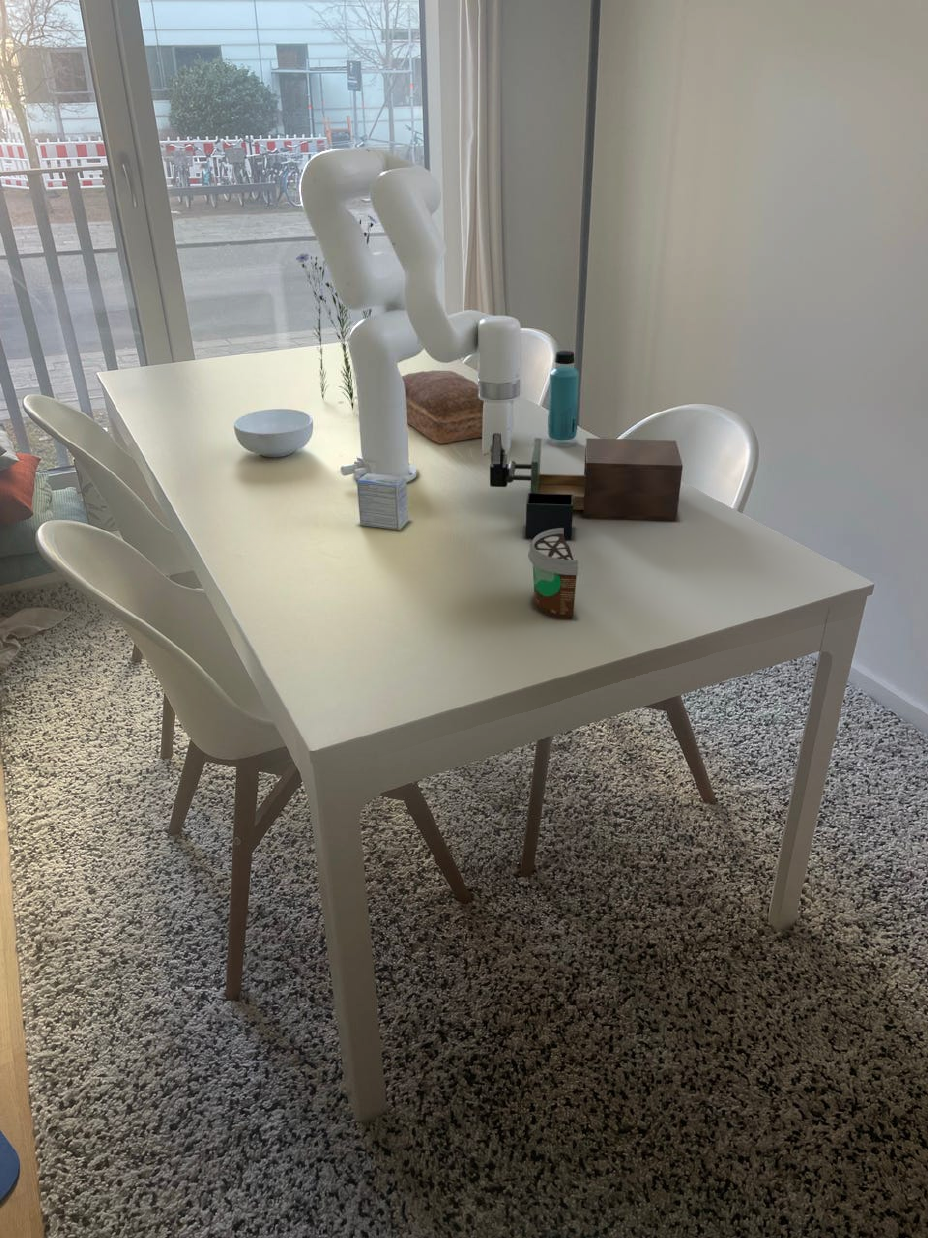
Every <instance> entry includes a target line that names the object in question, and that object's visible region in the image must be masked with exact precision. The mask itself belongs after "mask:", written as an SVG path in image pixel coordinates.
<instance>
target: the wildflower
mask: <svg viewBox="0 0 928 1238" xmlns="http://www.w3.org/2000/svg"><path fill="white" fill-rule="evenodd" d="M367 217H368V218H369V219H370V221H371V222H370V223H369V225H368V228H369V229H367V232H364V236H365V237H366V242H367V244H368V245H369V242H370V231H371V228H373V227H374V223H375V224H378V223H377V221H376V219H375V218H374V217H373V216H371V215H370V214H367ZM358 222H359V224H360V226H362V219H359V221H358ZM309 259H311V260H313V256H310V254H308V253H301V254H299V255H298V256H297V257H296V258H295V260H296V261H298V263H301V267H302V268H303V270H304V272H305V274H306V275H307V277H308V279H307V281H308V282H309V284H310V285H311V286H312V289H313V290H312V292H313V296H314V298H315V299H316V301H317V302H318V308H317V306H316V307H315V308H316V311H317V312H318V316H319V317H318V318H317V327H318V329H317V328H316V327H314V326H313V328H314V329H315V331H316V333H317V334H316V333H315V332H312V334H314V335H315V336H316V338H317V339H318V341H319V346H320V347H322V335H321V313H322V310H321V309H322V306H321V305H320V302H322V304H323V306H324V307H326V308H325V309H326V311H327V314H328V316H327V318H328V319H329V320H330V322H331V324H332V325H334V329H335V332H334V333H335V334H336V336H337V338H338V339H339V340H340V345H341V349H342V350H343V357H344V360H343V361H344V365H345V367H344V366H342V368H343V371H344V373H343V371H342V370H340V373H341V374H342V377H343V379H344V380H342V382H343V383H344V386H341V385H339V386H338V387H339V388H342V389H343V390H344V391H345V392H346V393H347V394H348V395H347V394H346V393H345V392H344V391H342V394H343V395H345V397H346V398H347V400H348V402H349V404H350V406H351V410H352V411H353V410H354V402H353V401H355V400H354V399H355V398H353V397H354V387H353V384H352V383H354V385H356V380H355V373H354V368H353V366H352V368H351V365H350V363H349V362H350V361H349V356H350V355H348V353H349V351H347V350H348V349H349V347H348V341H349V337H348V338H347V341H346V336H347V335H348V332H349V331H350V330H351V327H349V326H350V325H351V324H352V323H353V322H354V320H352V321H351V315H348V314H350V311H349V310H348V309H347V308H345V307H344V306H343V304H342V303H341V301H340V300H336V298H337V299H339V297H338V295H337V293H336V292H334V289H333V286H332V285H330V283H329V282H328V281H327V282H325V286H326V287H327V288H328V289H329V290H331V292H330V293H331V297H332V301H333V304H334V306H335V309H336V311H337V313H336V314H337V315H336V316H337V321H338V322H339V325H340V327H339V331H340V333H339V332H338V330H337V328H336V326H335V324H334V321H333V319H332V316H331V314H332V312H331V309H329V308H328V304H326V303H327V300H326V297H324V296H323V292H322V291H323V287H324V284H323V282H321V281H320V277H318V276H317V277H316V276H314V275H315V271H316V272H317V275H319V273H321V280H323V279H324V275H325V267H326V266H327V265H326V263H325V261H323V264H322V265H323V266H318V261H317V260H318V256H316V257H315V262H314V263H313V261H311V262H310V263H311V264H312V265H311V267H312V269H314V270H312V273H313V274H310V273H311V272H310V271H311V270H307V266H306V264H305V262H307V261H308V260H309ZM317 266H318V267H317ZM318 272H319V273H318ZM311 275H312V278H313V280H314V282H315V283H314V286H313V283H312V281H311V278H310V277H311ZM320 282H321V284H320ZM317 283H318V286H319V290H318V293H317V291H316V289H314V287H317ZM334 295H335V296H334ZM335 297H336V298H335ZM337 304H338V305H337ZM372 312H373V309H368V310H364V311H362V312H361V314H362V317H363V319H366V318H368V317H371V316H372V315H371V314H372ZM348 320H349V321H348ZM347 321H348V324H347ZM348 327H349V328H348ZM340 334H341V336H340ZM316 349H317V351H318V352H319V353H320V357H319V358H318V359H319V361H320V362H319V363H320V365H319V366H320V370H319V375H318V376H319V379H320V380H321V381H320V382H319V384H320V393H321V398H322V401H324V397H325V393H326V390H327V388H328V387H329V385H327V386H326V384H327V381H325V378H326V375H327V374H326V373H327V371H325V366H323V357H322V356H323V350H324V349H323V348H320V349H319V347H318V346H316ZM323 367H324V368H323ZM351 369H352V370H351ZM325 386H326V387H325ZM348 396H349V397H348Z"/></svg>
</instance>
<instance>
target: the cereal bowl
mask: <svg viewBox="0 0 928 1238" xmlns="http://www.w3.org/2000/svg"><path fill="white" fill-rule="evenodd" d="M233 430H234V435H235V436H236V439H237V442H238V443H239V444H240V445H241V447H242V448H244V449H245V450H247V451H249V452H251V453H254V454H259V455H260V456H262V457H267V458H282V457H286V456H287V457H288V456H289V455H291V454H293V453H294V452H295V451H298V450H301V449H302V448H304V447H305V446H306V445H307V444H308V443H309V442H310V441H311V438H312V436H313V432H314V420H313V417H312V416H311V415H310V414H309V413H307V412H305V411H301V410H297V409H289V408H272V409H264V410H258V411H254V412H249V413H246V414H244V415H242V416H239V417H238V418H236V419H235V421H234V422H233Z"/></svg>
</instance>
